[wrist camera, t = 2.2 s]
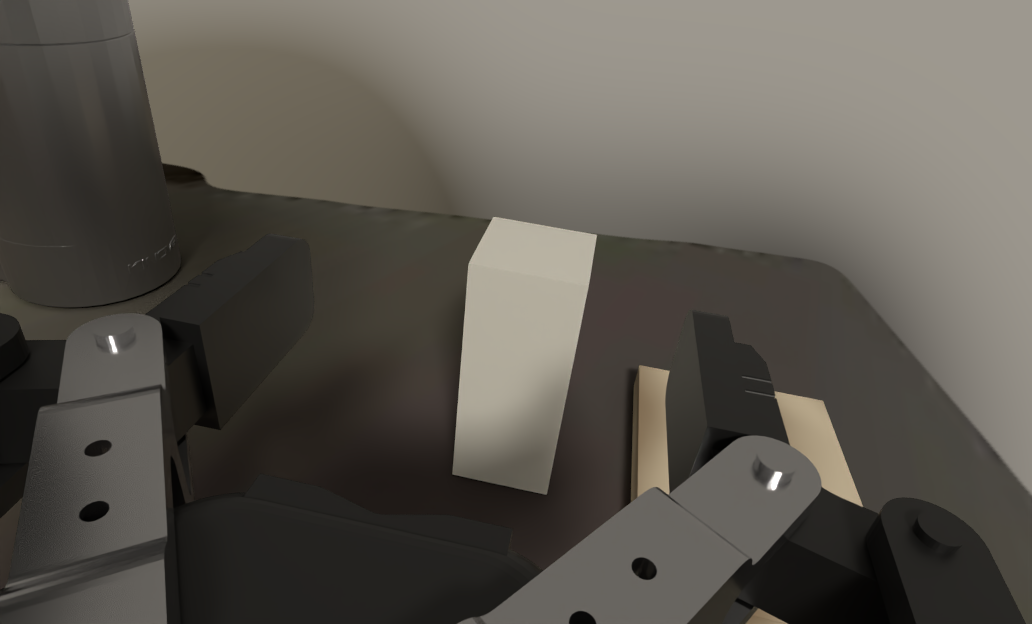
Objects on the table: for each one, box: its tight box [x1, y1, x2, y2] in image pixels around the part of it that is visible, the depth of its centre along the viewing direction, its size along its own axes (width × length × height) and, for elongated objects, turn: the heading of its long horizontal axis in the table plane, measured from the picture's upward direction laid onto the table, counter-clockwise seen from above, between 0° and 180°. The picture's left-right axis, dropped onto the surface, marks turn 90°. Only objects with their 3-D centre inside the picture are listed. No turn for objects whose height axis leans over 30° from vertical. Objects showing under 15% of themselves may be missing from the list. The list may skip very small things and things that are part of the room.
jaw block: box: [452, 217, 597, 495], centre depth 27 cm, size 4×4×11 cm
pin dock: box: [631, 365, 863, 624], centre depth 28 cm, size 10×14×4 cm
